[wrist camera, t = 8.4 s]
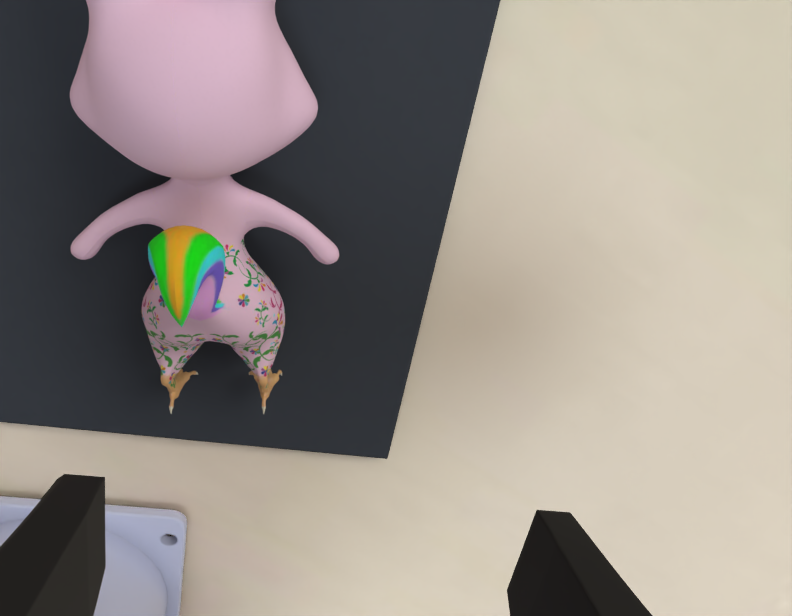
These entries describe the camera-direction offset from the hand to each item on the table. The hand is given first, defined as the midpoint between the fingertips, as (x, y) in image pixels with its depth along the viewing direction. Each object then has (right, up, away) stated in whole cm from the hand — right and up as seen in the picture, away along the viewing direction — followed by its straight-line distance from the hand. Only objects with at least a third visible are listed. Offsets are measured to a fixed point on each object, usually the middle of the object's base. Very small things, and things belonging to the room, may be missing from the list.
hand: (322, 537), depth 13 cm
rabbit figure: (-3, +8, +5) cm, 11 cm away
